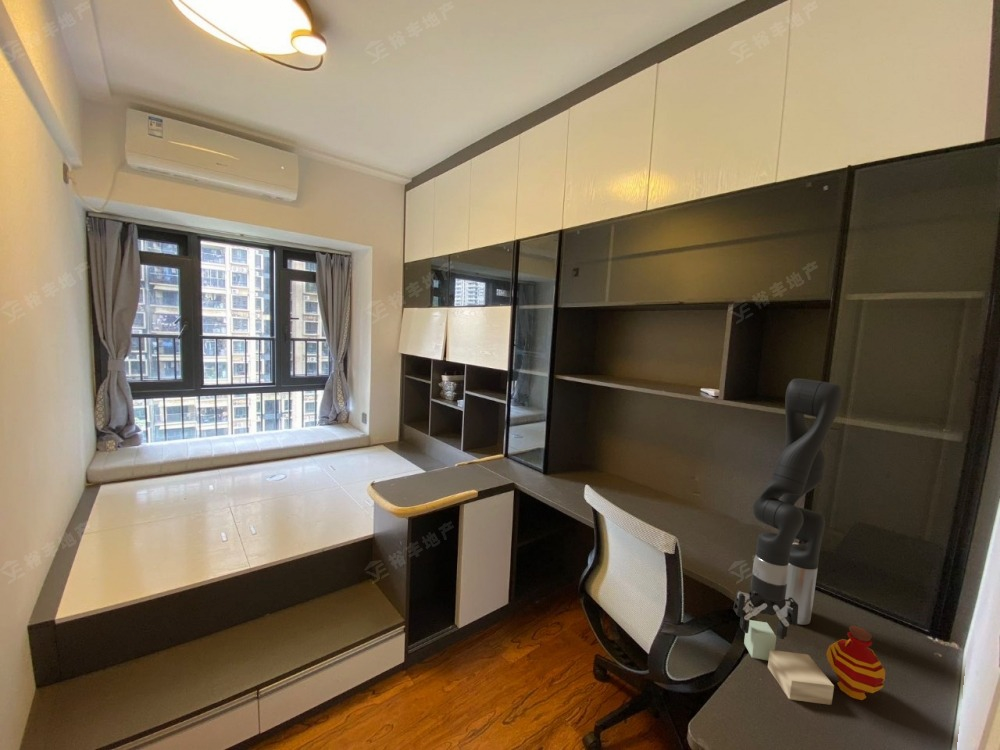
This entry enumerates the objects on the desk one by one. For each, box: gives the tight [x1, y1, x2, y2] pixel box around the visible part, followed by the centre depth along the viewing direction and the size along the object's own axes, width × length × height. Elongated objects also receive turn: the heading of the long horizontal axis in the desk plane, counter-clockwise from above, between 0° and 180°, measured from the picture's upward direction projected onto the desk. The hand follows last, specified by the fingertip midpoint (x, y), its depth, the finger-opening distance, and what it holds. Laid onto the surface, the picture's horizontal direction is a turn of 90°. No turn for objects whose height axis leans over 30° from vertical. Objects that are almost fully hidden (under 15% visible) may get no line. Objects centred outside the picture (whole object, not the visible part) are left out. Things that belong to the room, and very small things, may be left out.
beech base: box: [767, 649, 835, 706], centre depth 95 cm, size 9×9×5 cm
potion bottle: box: [826, 625, 886, 701], centre depth 94 cm, size 10×10×15 cm
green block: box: [743, 619, 777, 661], centre depth 105 cm, size 5×5×7 cm
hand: (762, 633), depth 104 cm, fingers open, 8 cm apart
